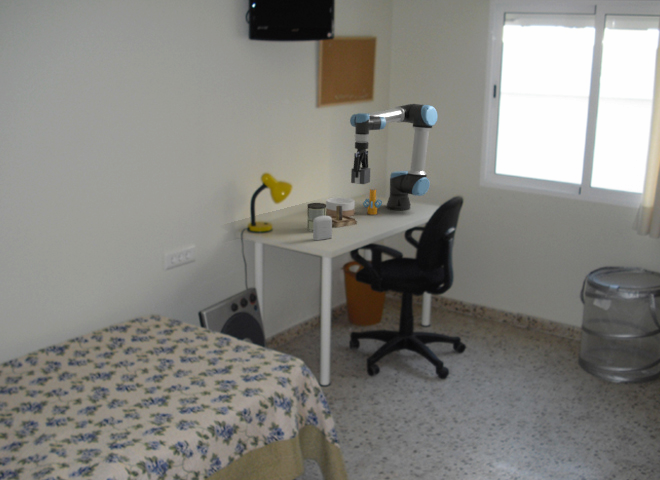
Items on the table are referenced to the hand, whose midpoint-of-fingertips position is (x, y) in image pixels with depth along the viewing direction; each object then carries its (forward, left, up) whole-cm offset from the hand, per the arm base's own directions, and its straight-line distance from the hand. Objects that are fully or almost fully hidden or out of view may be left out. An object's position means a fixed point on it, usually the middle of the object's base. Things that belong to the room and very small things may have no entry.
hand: (360, 182), depth 380 cm
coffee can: (+29, -1, -24) cm, 38 cm away
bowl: (-4, -25, -24) cm, 35 cm away
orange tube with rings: (-20, -14, -24) cm, 34 cm away
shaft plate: (+10, -6, -24) cm, 26 cm away
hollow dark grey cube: (0, 0, 0) cm, 0 cm away
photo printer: (+37, +16, -24) cm, 47 cm away
